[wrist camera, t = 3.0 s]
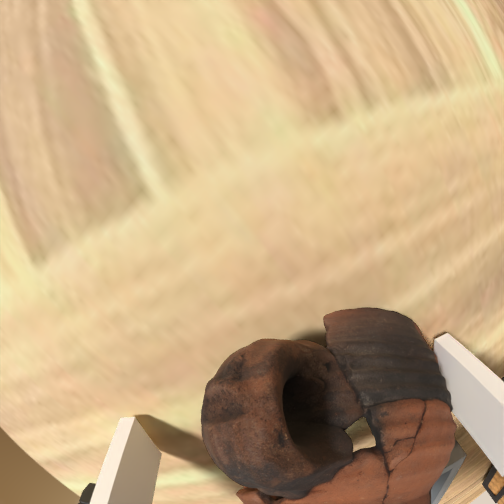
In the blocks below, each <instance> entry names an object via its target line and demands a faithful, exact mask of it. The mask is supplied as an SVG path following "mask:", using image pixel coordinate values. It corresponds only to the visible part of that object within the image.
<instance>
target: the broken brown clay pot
mask: <svg viewBox="0 0 504 504" xmlns="http://www.w3.org/2000/svg"><path fill="white" fill-rule="evenodd" d="M323 320H324V326H325V328H326V331H327V333H326V337H325V338H326V344H327V348H325V347H323V346H321V345H320V344H318V343H315V342H312V341H308V340H294V341H291V340H277V339H260V340H258V341H255V342H253V343H252V344H250V345H248V346H246V347H244V348H241V349H239V350H238V351H236V352H235V353H233V354H232V355H230V356H229V357H228V358H227V359H226V360H225V361H224V362H223V364H222V365H221V367H220V368H219V370H218V371H217V373H216V374H215V376H214V377H213V378H212V379H211V380H210V381H209V382H208V383H207V385H206V389H205V395H204V400H203V406H202V410H201V424H202V437H203V441H204V443H205V446H206V449H207V451H208V453H209V455H210V456H211V458H212V460H213V461H214V463H215V464H216V465H217V466H218V467H219V468H220V469H221V470H222V471H223V472H224V473H225V474H226V475H227V476H228V477H229V478H231V479H232V480H233V481H235V482H237V483H238V484H240V485H243V486H244V489H241V490H239V491H238V492H237V493H236V495H237V496H238V497H239V498H240V499H241V501H242V502H243V503H244V504H431V489H432V487H433V485H434V483H435V482H436V481H437V480H438V479H439V477H440V476H441V474H442V472H443V470H444V468H445V466H446V465H447V464H448V462H449V460H450V455H451V452H452V450H453V448H454V446H455V437H454V434H455V431H456V428H457V427H456V424H455V422H454V421H453V418H452V414H451V411H452V410H453V406H452V404H451V394H450V392H449V391H448V389H447V386H446V380H445V378H444V377H443V376H442V374H441V372H440V369H439V364H438V359H437V356H436V355H435V354H434V352H433V351H432V350H431V348H430V347H429V345H428V344H427V343H426V341H425V340H424V338H423V337H422V334H421V332H420V330H419V328H418V326H417V325H416V324H415V323H414V322H413V321H412V320H411V319H409V318H407V317H405V316H403V315H401V314H399V313H397V312H394V311H386V310H382V309H378V308H357V309H346V310H340V311H335V312H333V313H330V314H327V315H325V316H324V318H323ZM361 417H365V418H366V420H367V422H368V424H369V426H370V428H371V431H372V434H373V436H374V437H375V440H376V446H374V447H371V448H363V449H360V450H357V451H355V452H353V443H352V441H351V439H350V437H349V436H348V435H347V433H346V432H345V430H346V429H347V428H348V427H349V426H351V425H352V424H353V423H354V422H355V421H357V420H358V419H359V418H361Z"/></svg>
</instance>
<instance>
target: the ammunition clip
mask: <svg viewBox="0 0 504 504" xmlns="http://www.w3.org/2000/svg"><path fill="white" fill-rule="evenodd" d="M482 485H483V486H484V488H485V489H486V490H487V492H488V493H489V494H490V496H491V497H492V499H493V500H494V502H495V503H498V504H504V476H503V477H502V476H501V475H500V473H499V472H498V471H497V469H496V468H495V466H494V465H493V466H492V468H491V470H490V471H489V473H488V475H487V477H486V478H485V480H484V482H483V483H482Z"/></svg>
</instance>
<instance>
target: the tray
mask: <svg viewBox="0 0 504 504" xmlns="http://www.w3.org/2000/svg"><path fill="white" fill-rule="evenodd" d="M466 456H467V455H466V453H465V452H464V450H463V449H462V448H461V446H460V445H459V444H458V442H457V441H456V439H455V446H454V448H453V450H452V452H451V455H450V460H449V462H448V464H447V465H446V466H445V468H444V470H443V472H442V474H441V476H440V477H439V479H438V480H437V481H436V482H435V483H434V485H433V487H432V489H431V504H438V503H439V501H440V500H441V498H442V497H443V495H444V494H445V492H446V491H447V489H448V487H449V486H450V484H451V482H452V481H453V479H454V477H455V476H456V474H457V472H458V470H459V469H460V467H461V465H462V463H463V461H464V459H465V458H466Z"/></svg>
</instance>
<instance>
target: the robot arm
mask: <svg viewBox="0 0 504 504" xmlns="http://www.w3.org/2000/svg"><path fill="white" fill-rule="evenodd" d="M433 352H434V354H435V355H436V356H437V359H438V364H439V369H440V372H441V374H442V376H443V377H444V378H445V380H446V386H447V389H448V391H449V392H450V394H451V404H452V406H453V410H452V412H453V414H454V415H455V416H456V417H457V419H458V420H459V421H460V422H461V424H462V425H463V426H464V427H465V429H466V430H467V431H468V432H469V434H470V435H471V436H472V438H473V439H474V440H475V441H476V443H477V444H478V445H479V447H480V448H481V449H482V450H483V452H484V453H485V454H486V456H487V457H488V458H489V460H490V461H491V462H492V464H493V465H494V466H495V468H496V469H497V471H498V472H499V473H500V475H501V476H502V477H503V476H504V377H503V378H502V379H500V378H499V377H498V376H497V375H496V374H494V373H493V372H492V371H491V370H490V369H489V368H488V367H487V366H486V365H484V364H483V363H482V362H481V361H480V360H479V359H478V358H477V357H475V356H474V355H473V354H472V353H471V352H470V351H468V350H467V349H466V348H465V347H464V346H463V345H461V344H460V343H459V342H458V341H457V340H456V339H454V338H453V337H452V336H451V335H450V334H448V333H446V334H444V335H442V336H440V337H438V338H436V339H435V340H434V350H433ZM161 454H162V453H161V452H160V451H159V449H158V448H157V447H156V445H155V444H154V443H153V441H152V440H151V439H150V437H149V436H148V435H147V433H146V432H145V431H144V429H143V428H142V426H141V425H140V423H139V422H138V421H137V419H136V418H135V417H123V418H120V420H119V423H118V425H117V428H116V431H115V433H114V436H113V438H112V441H111V444H110V446H109V449H108V452H107V455H106V457H105V460H104V463H103V466H102V468H101V471H100V474H99V477H98V480H97V483H96V484H93V483H89V484H88V486H87V487H86V488H85V489H84V490H83V492H82V495H81V498H80V500H79V501H80V503H78V504H152V501H153V496H154V490H155V485H156V480H157V474H158V469H159V464H160V459H161Z"/></svg>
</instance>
